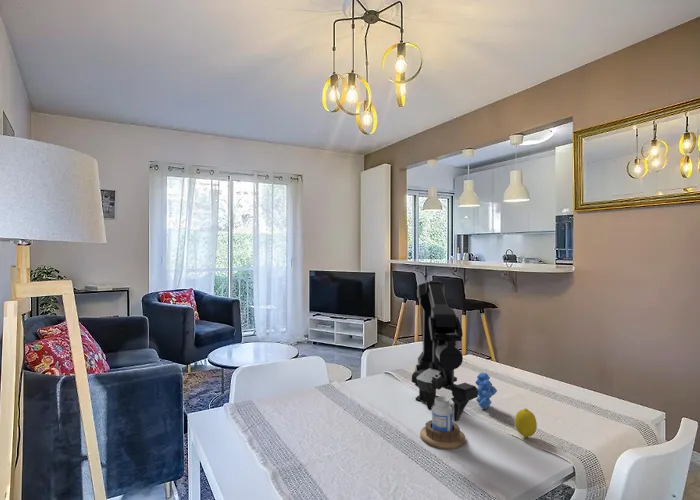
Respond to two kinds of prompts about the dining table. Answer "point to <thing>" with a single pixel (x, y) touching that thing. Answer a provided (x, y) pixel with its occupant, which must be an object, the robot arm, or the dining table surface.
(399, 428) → the dining table surface
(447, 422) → the pill bottle
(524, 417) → the lemon
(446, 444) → the socket
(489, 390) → the grapes
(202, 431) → the dining table surface
